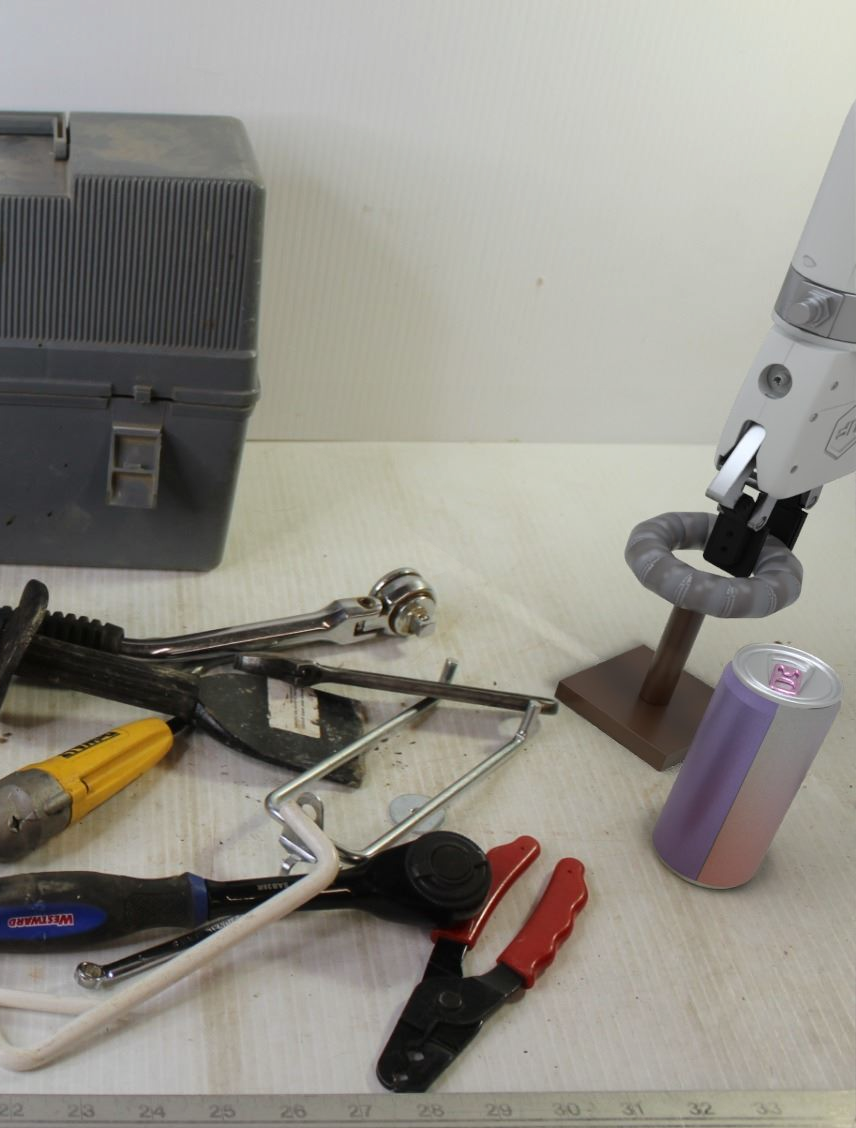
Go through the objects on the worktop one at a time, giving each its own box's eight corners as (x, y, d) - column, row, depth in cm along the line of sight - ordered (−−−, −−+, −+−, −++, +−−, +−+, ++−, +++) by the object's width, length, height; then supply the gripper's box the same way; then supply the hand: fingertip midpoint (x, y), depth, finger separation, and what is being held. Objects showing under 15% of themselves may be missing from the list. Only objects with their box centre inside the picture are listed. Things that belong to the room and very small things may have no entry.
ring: (688, 521, 94) (699, 490, 92) (828, 596, 87) (843, 563, 85) (587, 563, 90) (598, 530, 88) (726, 645, 82) (740, 611, 81)
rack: (637, 659, 100) (687, 531, 93) (745, 729, 93) (807, 597, 87) (553, 696, 96) (598, 565, 90) (659, 771, 90) (717, 636, 83)
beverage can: (639, 867, 83) (722, 681, 74) (658, 811, 87) (738, 628, 78) (744, 909, 80) (843, 721, 71) (759, 848, 84) (854, 663, 75)
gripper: (823, 358, 73) (712, 625, 84) (995, 299, 79) (872, 555, 90) (703, 309, 78) (613, 566, 89) (873, 257, 84) (770, 504, 95)
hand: (744, 558), depth 89 cm, fingers closed on ring, 3 cm apart
